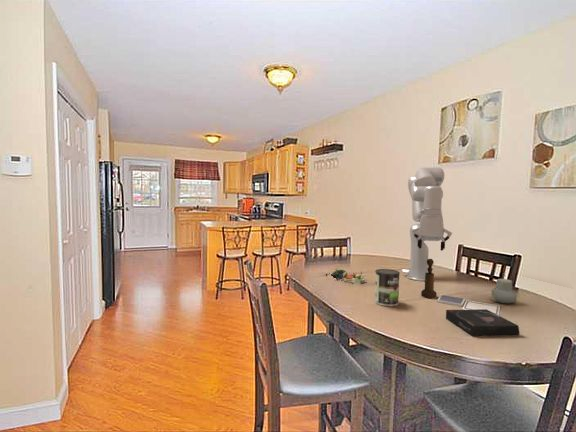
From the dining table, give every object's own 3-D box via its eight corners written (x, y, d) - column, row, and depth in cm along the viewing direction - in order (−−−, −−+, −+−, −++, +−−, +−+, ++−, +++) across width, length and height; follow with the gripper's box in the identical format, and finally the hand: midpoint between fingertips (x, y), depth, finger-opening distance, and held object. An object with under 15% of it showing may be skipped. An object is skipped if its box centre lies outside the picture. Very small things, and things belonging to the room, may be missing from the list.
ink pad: (437, 302, 151) (437, 299, 151) (441, 296, 160) (441, 294, 160) (462, 306, 146) (462, 303, 146) (465, 300, 154) (465, 298, 154)
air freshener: (517, 306, 147) (518, 284, 146) (495, 304, 150) (496, 282, 149) (510, 299, 157) (511, 278, 156) (490, 297, 160) (491, 276, 159)
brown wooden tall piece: (435, 295, 162) (437, 258, 161) (437, 299, 156) (438, 260, 155) (420, 293, 164) (422, 257, 163) (421, 297, 158) (423, 259, 157)
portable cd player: (519, 336, 116) (520, 325, 116) (472, 337, 115) (472, 326, 115) (487, 319, 133) (488, 309, 132) (445, 319, 131) (446, 309, 131)
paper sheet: (462, 309, 142) (462, 308, 142) (466, 300, 154) (466, 299, 154) (498, 316, 134) (498, 315, 134) (500, 306, 147) (500, 305, 147)
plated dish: (384, 287, 177) (384, 274, 177) (332, 290, 173) (332, 276, 172) (360, 273, 212) (360, 261, 211) (316, 274, 207) (317, 262, 207)
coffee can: (403, 304, 148) (404, 272, 147) (386, 307, 143) (387, 274, 142) (386, 297, 157) (387, 267, 156) (369, 300, 152) (370, 269, 151)
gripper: (411, 212, 159) (409, 248, 160) (451, 213, 149) (449, 252, 150) (414, 212, 165) (413, 246, 166) (453, 213, 156) (452, 250, 156)
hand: (430, 249), depth 158 cm, fingers open, 9 cm apart
